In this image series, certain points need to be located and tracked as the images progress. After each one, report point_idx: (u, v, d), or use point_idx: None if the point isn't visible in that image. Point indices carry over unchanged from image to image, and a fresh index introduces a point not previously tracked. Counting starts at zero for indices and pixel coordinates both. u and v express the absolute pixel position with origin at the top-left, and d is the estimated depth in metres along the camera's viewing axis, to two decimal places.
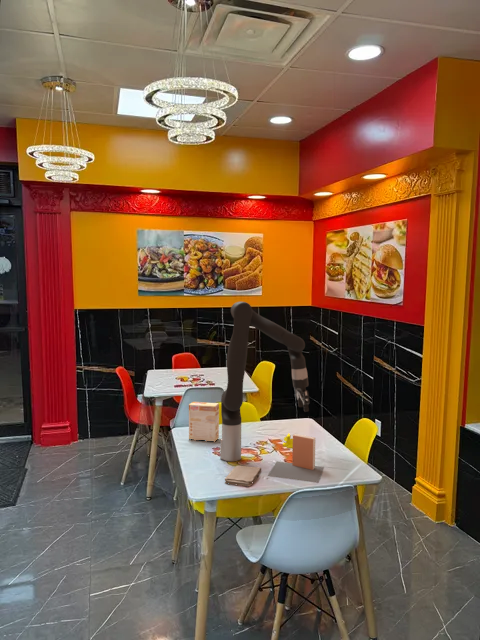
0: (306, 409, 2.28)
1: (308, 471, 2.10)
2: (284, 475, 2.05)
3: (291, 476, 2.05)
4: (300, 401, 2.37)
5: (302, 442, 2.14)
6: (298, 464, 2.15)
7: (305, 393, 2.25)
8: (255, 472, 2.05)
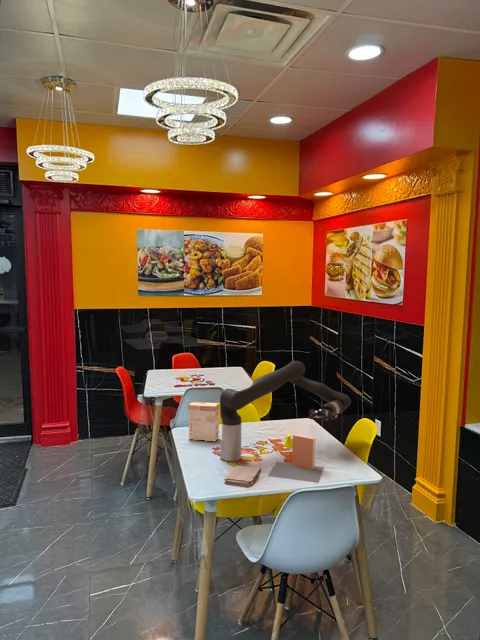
0: (324, 418, 2.25)
1: (308, 471, 2.10)
2: (284, 475, 2.05)
3: (291, 476, 2.05)
4: (313, 415, 2.29)
5: (302, 442, 2.14)
6: (298, 464, 2.15)
7: (336, 415, 2.30)
8: (255, 472, 2.05)
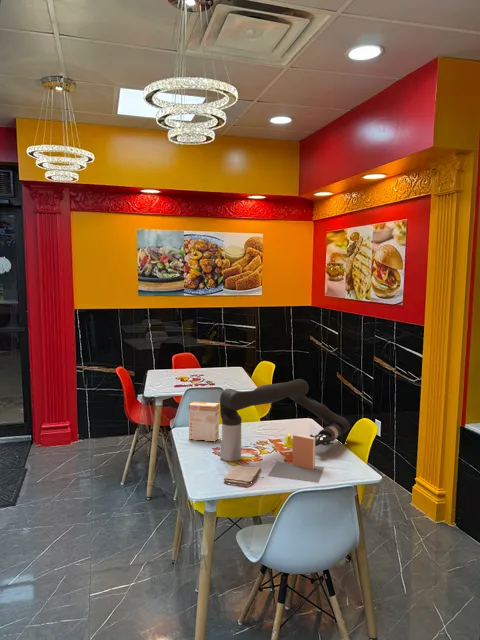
0: (317, 443, 2.26)
1: (308, 471, 2.10)
2: (284, 475, 2.05)
3: (291, 476, 2.05)
4: None
5: (302, 442, 2.14)
6: (298, 464, 2.15)
7: (332, 441, 2.29)
8: (254, 472, 2.05)
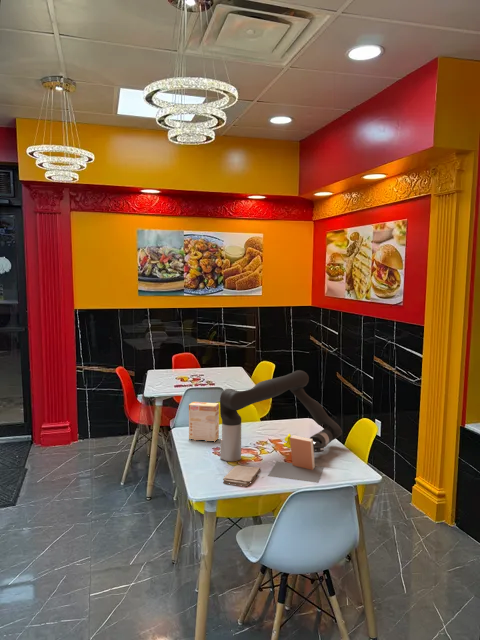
0: None
1: (308, 471, 2.10)
2: (284, 475, 2.05)
3: (291, 476, 2.05)
4: None
5: (300, 444, 2.12)
6: (298, 464, 2.15)
7: (322, 448, 2.19)
8: (254, 472, 2.05)
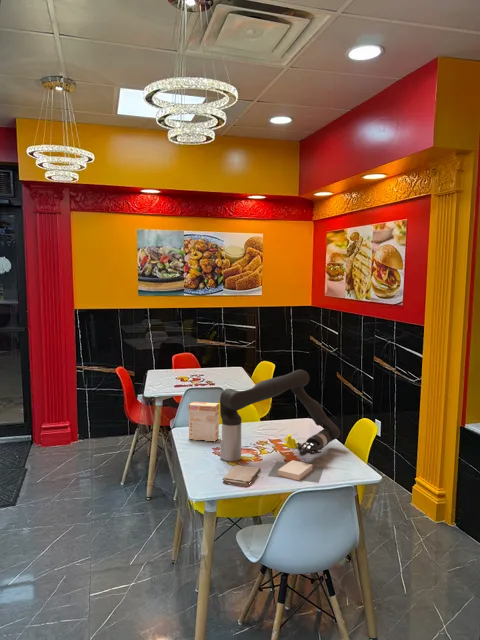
0: (304, 452, 2.13)
1: None
2: None
3: None
4: None
5: None
6: None
7: (320, 450, 2.16)
8: (253, 472, 2.05)
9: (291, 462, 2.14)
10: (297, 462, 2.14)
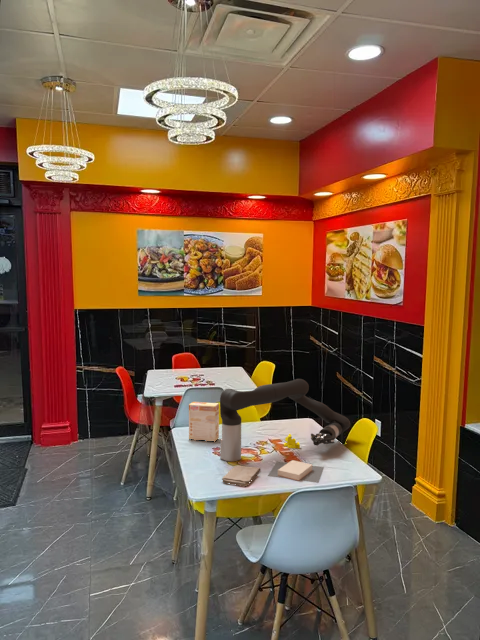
0: (318, 442, 2.26)
1: None
2: None
3: None
4: None
5: None
6: None
7: (333, 440, 2.30)
8: (253, 472, 2.05)
9: (291, 462, 2.14)
10: (297, 462, 2.14)
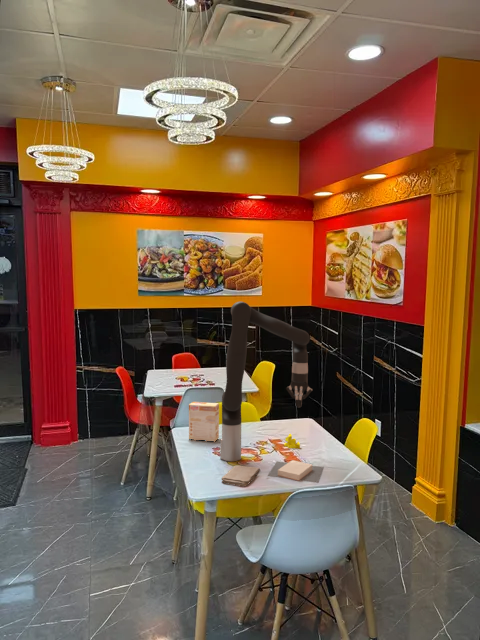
0: (301, 404, 2.28)
1: None
2: None
3: None
4: None
5: None
6: None
7: (311, 391, 2.26)
8: (253, 472, 2.04)
9: (291, 462, 2.14)
10: (297, 462, 2.14)
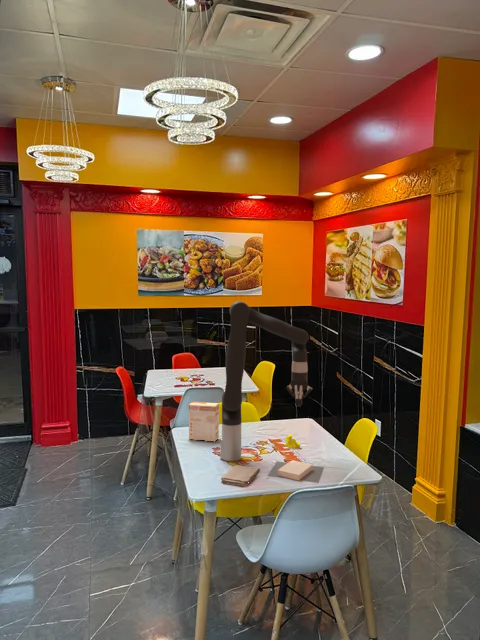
0: None
1: None
2: None
3: None
4: None
5: None
6: None
7: None
8: (252, 472, 2.04)
9: (291, 462, 2.14)
10: (297, 462, 2.14)
